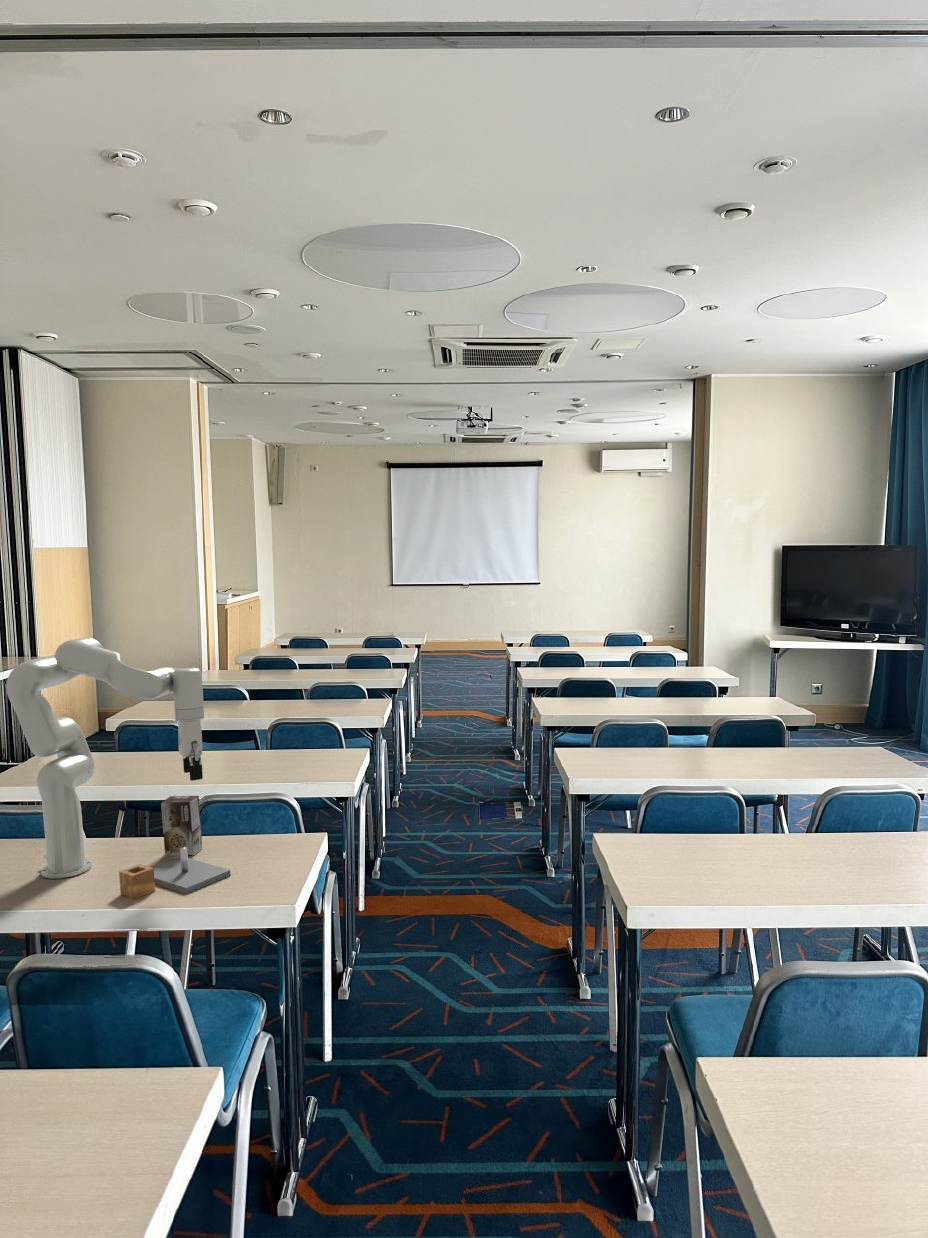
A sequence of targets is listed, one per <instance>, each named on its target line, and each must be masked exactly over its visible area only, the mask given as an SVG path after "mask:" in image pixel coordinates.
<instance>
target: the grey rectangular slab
mask: <svg viewBox="0 0 928 1238" xmlns="http://www.w3.org/2000/svg"><path fill="white" fill-rule="evenodd" d="M153 868H154V880H155V885H159V886H161V885H162V887H164V886H165V888H167V887H168V889H171V890H174V891H177V892H180V893H184V894H189V893H192V892H194V890H195V891H196V890H200V889H201V887H202V888H204V887H206V886H209V885H211V884H213V882H214V883H216V882H217V880H218V881H220V879H221V880H222V879H226V878H228V877H230V876H231V875H232V874H231V870H230V869H229V868H225V867H221V866H219V865H218V866H217V865H214V864H211V863H206V862H203V861H200V860H196V859H193V858H191V857H188V869H189V871H188V872H186V873H182V871H181V857H180V858H177V859H175V860H172V861H170V862H166V863H164V864H161V865H158V866H155V867H153ZM229 875H230V876H229ZM227 876H228V877H227ZM225 877H226V878H225ZM215 881H216V882H215ZM205 885H206V886H205ZM203 886H204V887H203Z"/></svg>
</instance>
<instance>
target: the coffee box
mask: <svg viewBox="0 0 928 1238" xmlns="http://www.w3.org/2000/svg"><path fill="white" fill-rule="evenodd" d="M160 807H161V818H162V819H161V820H162V830H163V831H162V832H163V834H162V835H163V845H164V846H163V847H164V856H165V857H175V856H176V857H177V856H179V857H181V855H180V848H182V847H187V854H188V855H194V856H195V855H197V854H198V853H199V852H200V851H201V850H203V839H202V827H201V811H200V797H199V795H172V796H171V795H170V796H168V797H167V798H166V799H164V800H163V801H161V803H160Z"/></svg>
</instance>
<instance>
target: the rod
mask: <svg viewBox="0 0 928 1238" xmlns="http://www.w3.org/2000/svg"><path fill="white" fill-rule="evenodd" d="M180 855H181V856H180V858H181V871H182V873H186V872H188V871H189V869H188V858H189V856H188V854H187V847H182V848H180Z"/></svg>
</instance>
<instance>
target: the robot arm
mask: <svg viewBox="0 0 928 1238" xmlns="http://www.w3.org/2000/svg"><path fill="white" fill-rule="evenodd" d="M80 675H81V676H85V677H88V678H92V679H94V680H97V681H102V682H104V683H106V684H108V686H110V687H112V689H114V690H115V691H117V692H120V693H122V694H125V695H128V696H131V697H135V698H138V699H142V700H150V701H151V700H155V699H158V698H161V697H163V696H167V695H170V694H173V705H174V707H173V708H174V719H175V722H178V729H177V731H178V733H177V734H178V738H177V739H178V752H179V754H180V755H181V757H182V758H183V759H182V765H183V773H185V774H187V773H189V779H190V781H199V780H202V779H204V776H203V764H202V758H201V756H202V755H203V735H202V725H201V721H202V720H203V719H205V708H204V689H203V673H202V671H201V669H200V668H198V667H185V668H182V667H181V668H179V667H178V668H177V667H171V666H170V667H169V666H162V667H160V668H155V669H151V670H143V669H140V668H136V667H133V666H130V665H127V664H126V663H124V662H123V657H122V655H121V653H120V652H117V651H113V650H110V649H107V648H104V647H103V645H102V644H101V643H100V641H98V640H96V639H94V638H91V637H80V638H75V639H74V638H73V639H70V640H67V641H64V642H62V643H61V644H59V646H58V647H57V648H56V650H55V652H54V654H53V655H49V656H43V657H39V658H33V659H29V660H26V661H23V662H22V663H19V664H18V665H16V666H15V667H14V668H13V669H12V670H11V672H10V673H9V674H8V677H7V679H6V685H5V689H6V694H7V697H8V700H9V702H10V704H11V706H12V708H13V709H14V712H15V713H16V717H17V718H18V720H19V721H18V722H19V724H20V726H21V729H22V732H23V735H24V737H25V739H26V742H27V744H28V748H29V749H30V751H31V752H32V755H33V754H34V756H36V757H38V758H47V757H52V756H54V755H57V758H55V759H52V760H51V761H48V762H47V763H45V764H44V765H43V766H42V767H41V768H40V770H39V771H38V774H37V777H36V785H37V790H38V793H39V795H40V799H41V800H40V801H41V806H42V816H43V827H44V840H45V843H44V844H45V855H44V856H43V858H44V859H45V860H46V866H44V867H43V868H42V869H41V871H40V872H41V873H40V874H41V876H42V877H43V878H45V879H52V880H53V879H55V880H56V879H66V878H70V877H75V876H77V875H80V874H83V873H85V872H87V871H88V870H90V868H92V861H91V860H90V859H87V858H86V857H85V843H84V842H85V841H84V829H83V827H84V826H83V816H82V815H83V814H82V806H81V805H82V804H81V802H80V798H79V796H78V793H77V792H76V788H78V787H80V786H82V785H83V784H86V783H88V782H89V781H90V780H91V779H92V777H93V776H94V773H95V771H96V769H95V768H96V766H95V761H94V757H93V756H92V753H91V750H90V748H89V744H88V741H87V740H86V737H85V734H84V732H83V730H82V727H81V726H80V725H79V724H78V722H76V721H75V720H74V719H72V718H70V717H66V716H59V717H56V716H55V714H54V711H53V709H52V706H51V704H50V702H49V701H48V700H47V698H46V697H45V696H44V695H43V694H42V693H41V691H42V690H43V689H48V688H51V687H54V686H59V685H61V684H64V683H67V682H68V681H70V680H72V679H74V678H76V677H78V676H80Z"/></svg>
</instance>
